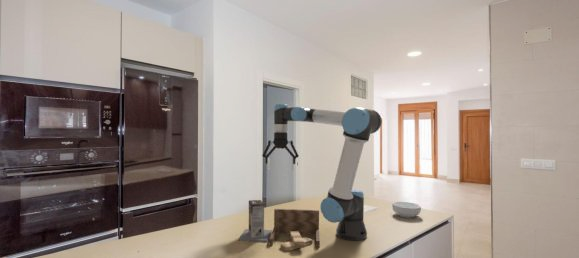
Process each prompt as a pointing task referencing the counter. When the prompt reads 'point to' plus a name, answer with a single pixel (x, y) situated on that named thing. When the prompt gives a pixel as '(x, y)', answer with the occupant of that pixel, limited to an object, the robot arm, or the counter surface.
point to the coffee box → (256, 218)
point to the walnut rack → (295, 223)
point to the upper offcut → (296, 239)
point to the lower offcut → (290, 246)
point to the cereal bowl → (406, 209)
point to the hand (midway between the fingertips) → (280, 169)
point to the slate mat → (246, 237)
